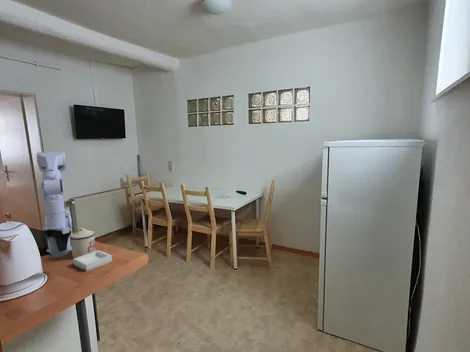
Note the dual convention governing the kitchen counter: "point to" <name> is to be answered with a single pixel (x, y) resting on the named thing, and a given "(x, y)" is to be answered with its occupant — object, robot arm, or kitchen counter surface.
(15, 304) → the kitchen counter surface
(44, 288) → the kitchen counter surface
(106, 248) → the kitchen counter surface
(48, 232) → the robot arm
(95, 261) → the tray
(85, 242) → the teacup with lid
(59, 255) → the tumbler
